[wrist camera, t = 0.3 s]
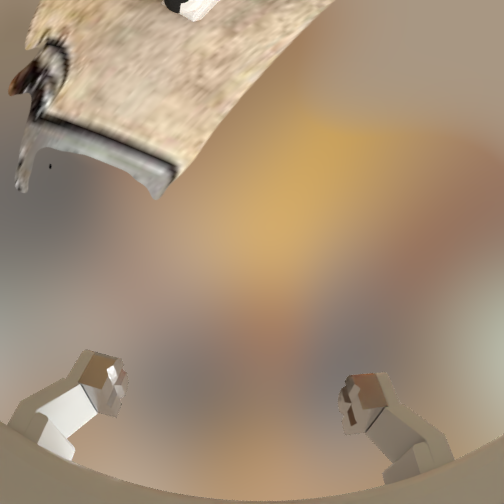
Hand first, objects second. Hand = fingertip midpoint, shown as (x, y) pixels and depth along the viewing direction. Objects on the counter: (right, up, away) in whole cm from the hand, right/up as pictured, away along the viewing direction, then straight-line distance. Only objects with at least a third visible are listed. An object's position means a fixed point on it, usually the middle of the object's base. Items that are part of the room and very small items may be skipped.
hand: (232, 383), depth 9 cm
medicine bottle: (-9, +50, +23) cm, 56 cm away
